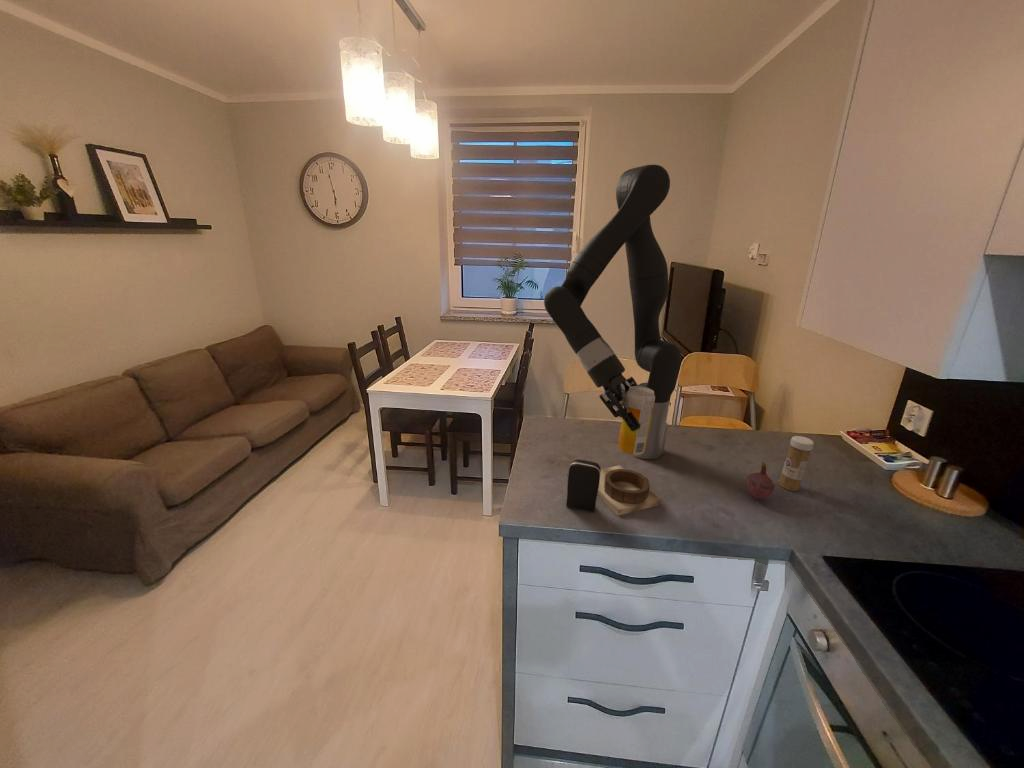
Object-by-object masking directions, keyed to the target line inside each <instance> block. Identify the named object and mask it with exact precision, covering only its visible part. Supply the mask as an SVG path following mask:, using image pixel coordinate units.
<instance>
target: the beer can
mask: <svg viewBox="0 0 1024 768" xmlns="http://www.w3.org/2000/svg"><path fill="white" fill-rule="evenodd" d="M626 396H627V400H628V406H629V408H630V411H631V412H632V414H633V415H634V417H635V418H636V419H637V421H638V422H639V424H640V428H639V429H637V430H635V431H631V429H630V428H629V427H628V425H627V424H626V422H625V421H624V419H623V418H621V423H620V424H621V425H620V431H619V439H618V444H617V446H618V447H617V448H618V449H619V451H620V452H621V453H622V454H623V455H626V456H629V457H635V458H637V457H636V456H640V455H642V454H643V453H644V452H645V450H646V445H647V439H648V434H649V429H650V423H651V418H652V412H653V407H654V402H655V395H654V391H653V390H651V389H649V388H646V387H642V386H632V387H630V388H629V390H628V391H627V393H626ZM631 412H630V413H631Z"/></svg>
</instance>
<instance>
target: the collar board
mask: <svg viewBox="0 0 1024 768" xmlns="http://www.w3.org/2000/svg"><path fill="white" fill-rule="evenodd" d="M650 488H651V485H650V481H649V479H648V478H647V477H646V476H644V475H643V474H642V473H640V472H637V471H634V470H630V469H625V468H624V467H623V466H621V465H620V464H619V465H615V466H610V467H604V468H601V473H600V483H599V490H598V495H597V497H599V498H600V500H601V501H603V502H604V504H606V505H607V506H608V507H609V508H610V510H612V511H613V512H614V514H616V515H617V516H622V515H625V514H630V513H633V512H638V511H640V510H646V509H649V508H653V507H657V506H661V504H662V498H660V496H658V495H657V494H656V493H655V492H654V491H652V490H651V489H650Z"/></svg>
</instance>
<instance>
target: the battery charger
mask: <svg viewBox="0 0 1024 768" xmlns="http://www.w3.org/2000/svg"><path fill="white" fill-rule="evenodd" d="M601 469H602V468H601V466H600V464H599V463H597V462H594V461H589V460H585V459H579V458H575V459H574V460H572V462H571V463H570V465H569V467H568V474H567V482H566V483H567V485H566V488H567V489H566V491H567V492H566V503H565V506H566V507H569V508H571V509H576V510H580V511H585V512H589V513H595V512H596V509H597V500H598V490H599V483H600V473H601Z"/></svg>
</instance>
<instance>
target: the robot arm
mask: <svg viewBox="0 0 1024 768" xmlns="http://www.w3.org/2000/svg"><path fill="white" fill-rule="evenodd" d="M670 178H671V177H670V175H669V172H668V171H667V170H666V169H665V168H664V166H661V165H659V164H645V165H640V166H638V167H633V168H630V169H626V170H625V171H624V172H622V174H621V175H620V176H619V178H618V180H617V182H616V187H615V199H616V200H615V201H616V205H617V209H618V211H617V212H616V213H615V214H614V215H613V216H612V217H611V218H610V220H609V221H608V222H607V223H606V224H605V225H604V226H603V227H602V228H600V229H599V230H598V231H597V232H596V233H595V234H594V235H593V236H592V237H591V238H590V239H589V240H588V241H587V242H586V243H585V244H584V245H583V247H582V248H581V249H580V251H579V252H578V254H577V256H575V258H574V259H573V261H572V262H571V264H570V265H569V267H568V269H567V272H566V277H565V279H564V280H563V283H561V286H554V287H551V288H550V289H549V290H548V291H547V292H546V293H545V296H544V299H543V301H544V302H543V304H544V308H545V311H546V312H547V313H548V315H549V317H550V318H551V319H552V321H554V323H555V324H556V326H557V327H558V329H559V330H560V331H561V332H562V334H563V335H564V338H565V339H566V341H567V342H568V345H569V346H570V347H571V349H572V350H573V352H574V354H576V357H577V358H578V360H579V362H580V364H581V366H582V367H583V368H584V370H585V371H586V373H587V375H588V377H589V378H590V379H591V380H592V382H593V383H594V385H595V386H596V388H601V387H602V388H603V390H604V392H602V393H601V394H599V395H598V396H599V399H600V400H601V401H602V402H603V404H604V405H605V407H606V408H607V409H608V411H610V413H611V415H612V416H613V417H614V418H615V419H616V418H621V419H622V418H623V419H624V421H625V422H626V424H627V425H628V427H629V428H630V429H631V431H635V430H637V429H639V428H640V424H639V422H638V421H637V419H636V418H635V417H634V415H633V414H632V412H631V411H630V408H629V406H628V400H627V396H626V393H627V391H628V390H629V388H630V387H632V386H642V387H646V388H649V389H651V390H653V391H654V395H655V402H654V407H653V412H652V418H651V423H650V429H649V434H648V439H647V445H646V450H645V452H644V453H643V454H642V455H640V456H636V457H635V458H639V459H642V460H656V459H658V458H660V457H661V456H662V455H664V452H665V447H666V442H667V435H668V430H669V424H668V422H667V419H668V413H669V407H670V401H671V396H672V394H673V393H674V391H675V389H676V388H677V387H676V386H677V381H678V378H679V374H680V370H681V365H682V353H681V352H682V351H681V349H680V347H678V346H677V345H676V344H674V343H672V342H668V341H666V340H663V339H662V338H661V333H660V315H661V312H662V310H663V308H664V305H665V303H666V302H667V298H668V295H669V289H670V288H669V287H670V284H669V283H670V281H669V269H668V263H667V260H666V257H665V255H664V253H663V250H662V249H661V246H660V244H659V242H658V240H657V238H656V237H655V235H654V231H653V228H652V227H653V226H652V222H651V215H652V214H653V213H654V212H656V210H657V209H658V208H659V207H660V206H661V205H662V203H663V202H664V201H665V199H666V198H667V197H668V195H669V192H670V187H671V179H670ZM624 245H625V254H626V260H627V268H628V269H627V270H628V281H629V288H630V289H629V291H630V295H631V296H630V297H631V304H632V314H633V323H634V324H633V325H634V358H635V362H636V364H637V365H638V366H639V368H641V369H642V370H643V371H646V372H648V373H649V375H648V379H647V381H646V382H642V383H639V384H638V383H637V381H636V380H635V378H634V377H633V376H630V377H628V378H626V377H625V376H624V375H623V373H624V372H625V371H626V367H625V366H624V365H623V363H622V362H621V360H620V359H619V358H618V356H617V354H616V353H615V351H614V350H613V349H612V347H611V346H610V345H609V343H608V342H607V341H606V340H605V339H604V338H603V336H602V334H600V332H599V331H598V329H597V328H596V326H595V325H594V324H593V323H592V322H591V320H589V318H588V317H587V315H586V313H585V312H584V309H583V308H582V307H581V306H582V305H583V302H584V301H585V299H586V297H587V296H588V293H589V292H590V290H591V288H592V287H593V285H594V284H595V283H596V282H597V281H598V279H599V278H600V276H601V275H602V274H603V272H604V271H605V269H606V268H607V266H608V265H609V263H611V261H612V259H613V258H614V257H615V256H616V255H617V253H618V252H619V251H620V250H621V248H622V247H623V246H624ZM630 412H631V413H630Z"/></svg>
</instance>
